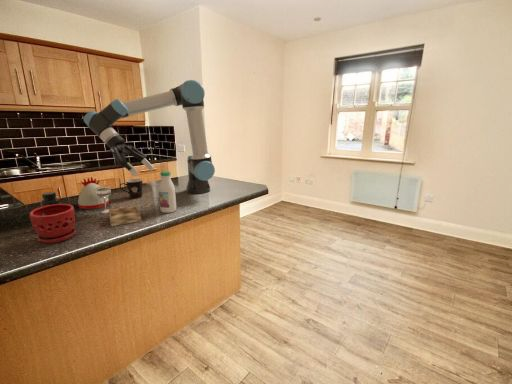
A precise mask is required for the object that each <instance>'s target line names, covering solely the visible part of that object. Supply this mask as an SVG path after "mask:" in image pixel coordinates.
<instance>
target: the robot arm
mask: <svg viewBox="0 0 512 384" xmlns="http://www.w3.org/2000/svg"><path fill="white" fill-rule="evenodd" d="M204 98H205V89H204V86H203V85H202V84H201V83H200V82H199V81H197V80H195V79H193V80H192V79H189V80H185V81H184V82H183V83H181V84H180V85H178V86H175V87H172V88H170V89H169V90H168V91H164V92H161V93H157V94H153V95H147V96H143V97H139V98H136V99H132V100H126V101H123V102H122V101H121V99H119V98H116V99H114V100H112V101H110V102H109V104H108V105H106V106H105V107H104V108H103V109H102V110H100V111H99V112H98V111H95V110H91V111H89V112H87V113H86V114H85V115H84V117H83V122H84V123H85V124H86V126H87V127H88V128H89V129H90V130H91V131H92V132H93V133H94V134H95V135H96V136H97V138H99V139H101V140H102V142H103V143H104V144H105V145H107V147H108V148H110V150H109V152H110V153H111V154H112V157H113V158H114V159H115V161H116V164H117V166H120V167H121V168H125V170H127V171H128V172H129V173H130V174H132V176H134V177H137V175H138V174H139V173H140V172H139V171H138V170H137V169H136V168H135V167H134V166H133V165H132V164H131V163H130V162H128V160H127V156H131V157H133V158H134V159H137V160H139V161H140V162H141V163H142V165H144V166H145V167H146V168H147V169H148V170H149V171H150V172H151V171H153V169H154V168H155V167H154V166H153V165H152V163H150V161H148V160H147V155H146V154H145V153H143V152H141V151H140V150H139V149H137V148H136V147H134V146H133V145H132V144H131V143H130V144H128V145H127V144H126V140H125V139H124V138H123V137H122V136H121V135H120V133H118V132H117V131H116V129H114V127H112V126H113V125H114V124H115V123H116V122H118V121H119V120H121V119H124V118H128V117H133V116H136V115H140V114H144V113H147V112H151V111H156V110H161V109H163V108H167V107H171V106H175V107H179V106H182V109H183V110H184V111H185V113H186V119H187V120H186V121H187V125H188V133H189V140H190V144H191V151H192V155H188V156H187V161H186V162H187V173H188V174H187V175H188V181H187V185H186V192H187V193H189V194H196V195H197V194H205V193H209V192H210V191H211V185H210V183H209V180H211V179H212V178H213V177H214V174H215V172H216V168H215V166H214V164H213V161H212V160H213V159H212V155H211V154H209V149H208V145H207V144H208V143H207V137H206V128H205V122H204V121H205V120H204V115H203V109H204V108H205V102H204Z"/></svg>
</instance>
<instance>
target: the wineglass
mask: <svg viewBox="0 0 512 384" xmlns="http://www.w3.org/2000/svg"><path fill="white" fill-rule="evenodd" d="M95 190H96V191H95V194H96V196H98V197H99V198H102V199H104V204H105V206H104V209H103V210H101V211H100V213H101V214H106V213H107V214H109V210H110V209H108V208H107V205H106V200H105V199H106V198H107V197H108V198H109V197H110V196H111V195H112V190H111V186H109V185H108V186H107V185H105V186H100V187H97V188H95Z"/></svg>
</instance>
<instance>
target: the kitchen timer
mask: <svg viewBox="0 0 512 384" xmlns="http://www.w3.org/2000/svg"><path fill="white" fill-rule="evenodd" d="M99 182H100V180H97V179H96V178H94V179H93V177H92V176H90V177H87V180H86V178H83V181H82V180H80V183H81V184H82V185H83V187H82V188H81V190H80V192H79V193H78V194H79V195H78V200H77V201H78V202H77V203H78V208H80V209H84V210H86V209H87V210H90V209H97V208H101V207H105V204H104V199H102V198H99V197H98V196H96V194H95V191H96V190H95V188H97V187H101V185H99ZM105 200H106V206H107V205H109V204H110V199H109V197H107V198H106V199H105Z"/></svg>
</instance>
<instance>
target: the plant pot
mask: <svg viewBox="0 0 512 384" xmlns="http://www.w3.org/2000/svg"><path fill="white" fill-rule="evenodd" d="M55 210H56V211H57V212H56V213H54V211H55ZM43 213H46V215H45V216H43ZM50 213H51V214H52V215H49V214H50ZM29 219H30V222H31V225H32V228H33V229H34V231H35V233H37V236H38V237H37V239H38V241H39V242H41V243H45V244H55V243H59V242H65V241H66V240H68V239H70V238H72V237H73V236H74V235H75V234H76V230H77V229H75V226H76V225H75V223H76V213H75V207H74V206H73V205H72V204H68V203H60V204H53V205H47V206H43V207H41V206H40V207H37V208H35V209H33V210H31V211H30V212H29Z"/></svg>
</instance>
